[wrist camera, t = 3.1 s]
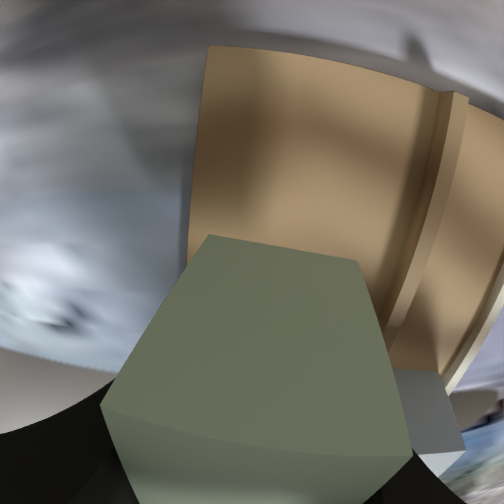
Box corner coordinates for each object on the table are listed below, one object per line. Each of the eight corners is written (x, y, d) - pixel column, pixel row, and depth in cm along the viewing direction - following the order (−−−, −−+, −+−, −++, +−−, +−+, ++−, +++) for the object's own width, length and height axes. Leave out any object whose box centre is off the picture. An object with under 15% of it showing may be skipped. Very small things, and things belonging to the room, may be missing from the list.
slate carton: (397, 432, 21) (408, 501, 15) (343, 430, 21) (346, 505, 15) (439, 371, 18) (467, 450, 12) (379, 367, 18) (397, 455, 12)
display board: (402, 431, 22) (408, 456, 20) (188, 404, 23) (179, 430, 21) (536, 141, 12) (564, 150, 9) (214, 49, 13) (198, 38, 11)
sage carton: (306, 408, 12) (299, 552, 6) (198, 389, 13) (151, 526, 7) (360, 261, 9) (419, 455, 4) (208, 233, 10) (99, 405, 4)
